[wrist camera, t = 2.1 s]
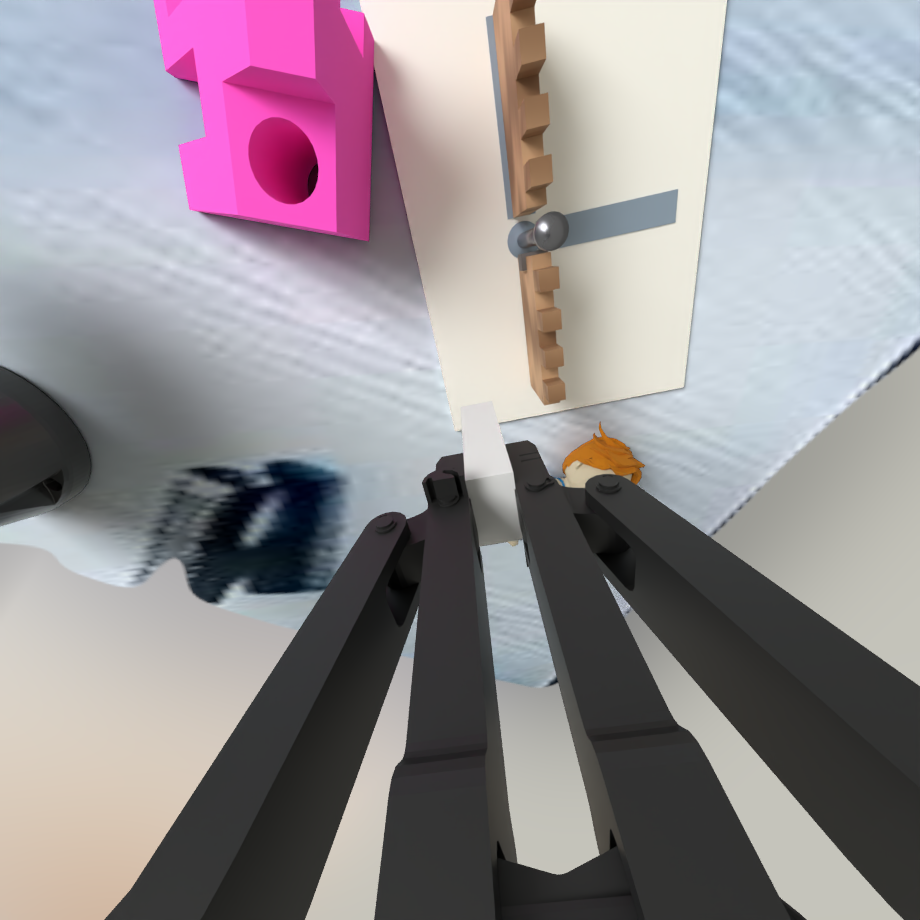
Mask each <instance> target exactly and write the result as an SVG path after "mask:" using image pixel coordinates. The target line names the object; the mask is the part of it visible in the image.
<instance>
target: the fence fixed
mask: <svg viewBox="0 0 920 920" xmlns="http://www.w3.org/2000/svg"><path fill="white" fill-rule="evenodd" d="M535 3H536V0H495V5H494V10H493V24H494V34H495V43H496V53H497V63H498V73H499V83H500V92H501V102H502V112H503V122H504V131H505V141H506V151H507V161H508V171H509V180H510V190H511V200H512V210H513V218H516V217H520V216H525V215H529V214H531V213H533V212H535V211H536V210H538V209H540V208H541V207H543V206H545V205H546V204H547V196H546V187H547V186H549V185H550V184H551V183H552V182H553V170H552V154H549V155H545V156H544V149H543V133H544V131H545V130H546V129H547V127H548V126H549V125H550V116H549V98H548V92H547V93H544V94H540V85H539V73H540V71H541V69H542V66H543V64H544V62H545V60H546V43H545V25H544V22H543V23H540V24H536V22H535Z"/></svg>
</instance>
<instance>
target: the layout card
mask: <svg viewBox="0 0 920 920" xmlns="http://www.w3.org/2000/svg"><path fill="white" fill-rule="evenodd" d="M359 1H360V5H361V10H362V13H364V14H365V17H366V20H367V22H368V25H369V27H370V30H371V33H372V35H373V38H374V68H375V73H376V77H377V82H378V86H379V91H380V95H381V100H382V104H383V109H384V113H385V118H386V122H387V127H388V131H389V136H390V140H391V145H392V149H393V154H394V158H395V163H396V167H397V172H398V176H399V181H400V185H401V190H402V195H403V199H404V204H405V208H406V213H407V217H408V222H409V226H410V231H411V235H412V240H413V244H414V249H415V253H416V258H417V262H418V267H419V271H420V276H421V280H422V285H423V289H424V294H425V298H426V303H427V307H428V312H429V316H430V321H431V325H432V330H433V334H434V339H435V343H436V348H437V352H438V357H439V361H440V366H441V370H442V375H443V379H444V384H445V388H446V393H447V397H448V402H449V406H450V411H451V416H452V420H453V425H454V429H455V431H460V430H462V425H461V409H460V407H462V406H467V405H472V404H477V403H483V402H488V401H492V403H493V406H494V410H495V413H496V416H497V420H498V423H501V422H506V421H512V420H517V419H522V418H527V417H532V416H538V415H543V414H548V413H553V412H558V411H563V410H569V409H574V408H579V407H584V406H589V405H595V404H600V403H605V402H610V401H615V400H621V399H626V398H631V397H636V396H641V395H646V394H652V393H657V392H662V391H667V390H672V389H678V388H683V387H684V381H685V372H686V363H687V354H688V345H689V336H690V327H691V318H692V309H693V300H694V292H695V283H696V274H697V265H698V256H699V247H700V238H701V229H702V220H703V211H704V202H705V193H706V184H707V175H708V166H709V157H710V148H711V139H712V131H713V122H714V113H715V104H716V95H717V86H718V77H719V68H720V59H721V50H722V41H723V32H724V23H725V14H726V5H727V0H536V3H535V22H536V24H540V23H543V22H544V25H545V43H546V60H545V62H544V64H543V66H542V69H541V71H540V73H539V85H540V94H544V93H547V92H548V98H549V116H550V125H549V126H548V127H547V129H546V130H545V131H544V133H543V149H544V156H545V155H549V154H552V170H553V182H552V183H551V184H550V185H549V186H547V187H546V196H547V204H546V205H545V206H543V207H541V208H540V209H538V210H536V211H535V212H533V213H531V214H529V215H525V216H520V217H516V218H513V210H512V200H511V190H510V180H509V171H508V161H507V151H506V141H505V131H504V122H503V112H502V102H501V92H500V83H499V73H498V63H497V53H496V43H495V34H494V24H493V10H494V5H495V0H359ZM551 211H557V212H560V213H562V214H563V215H564V216H565V217H566V219H567V221H568V224H569V233H568V237H567V239H566V241H565V243H564V244H563V245H562V246H561V247H560V248H558V249H556V250H553V251H548V252H551V262H552V266H559V281H560V288H559V289H555V290H553V294H554V307H556V308H559V309H561V318H562V329H560V330H556V343H557V344H558V345H560V346H561V347H562V348H563V355H564V366H562V367H558V375H559V378H560V379H561V380H562V381H563V382H564V383H565V392H566V400H561V401H560V403H555V404H550V405H545V406H544V404H543V403H542V401H541V400H540V398H539V397H538V396H537V394H536V393H535V391H534V390H533V388H532V387H531V383H530V373H529V364H528V354H527V344H526V334H525V324H524V315H523V305H522V295H521V285H520V275H519V266H518V255H519V254H523V253H528V252H532V251H537V250H541V249H539V248H538V247H537V246H532V247H528V248H520V247H519V246H518V243H517V238H518V236H519V235H520V234H521V233H523V232H525V231H528V230H530V229H532V228H534V226H535V224H536V222H537V221H538V219H539V218H540V217H541V216H543V215H544V214H546V213H548V212H551Z"/></svg>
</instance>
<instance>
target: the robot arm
mask: <svg viewBox="0 0 920 920" xmlns="http://www.w3.org/2000/svg"><path fill="white" fill-rule="evenodd" d="M460 409H461V425H462V440H463V453H461V454H456V455H450V456H445V457H441V459H440V460H439V461H438V463H437V464H436V471H434V472H432V473H430V474H428V475H427V476H426V477H425V478H424V480H423V482H422V485H423V488H424V492H425V495H426V498H427V502H428V509H427V510H426V511H424V512H423V513H421V514H419V515H417V516H415V517H412V518H410V519H407V520H406V517H405V515H403V514H401V513H398V512H389V513H385V514H382V515H379V516H377V517H376V518H374V519H373V520H371V521H370V522H369V524H368V525H367V526H366V527H365V529H364V530H363V532H362V534H361V535H360V537H359V538H358V540H357V541H356V543H355V544H354V546H353V547H352V549H351V551H350V552H349V554H348V555H347V557H346V558H345V560H344V561H343V563H342V564H341V566H340V568H339V569H338V571H337V572H336V574H335V575H334V577H333V578H332V580H331V581H330V583H329V584H328V586H327V588H326V589H325V591H324V592H323V594H322V595H321V597H320V598H319V600H318V601H317V603H316V605H315V606H314V608H313V609H312V611H311V612H310V614H309V615H308V617H307V618H306V620H305V622H304V623H303V625H302V626H301V628H300V629H299V631H298V632H297V634H296V635H295V637H294V638H293V640H292V642H291V643H290V645H289V646H288V648H287V650H286V651H285V652H284V654H283V656H282V657H281V659H280V660H279V662H278V663H277V665H276V666H275V668H274V669H273V671H272V673H271V674H270V676H269V677H268V679H267V680H266V682H265V683H264V685H263V686H262V688H261V689H260V691H259V692H258V694H257V696H256V697H255V699H254V700H253V702H252V703H251V705H250V706H249V708H248V710H247V711H246V713H245V714H244V716H243V717H242V719H241V720H240V722H239V723H238V725H237V727H236V728H235V730H234V731H233V733H232V734H231V736H230V737H229V739H228V740H227V742H226V743H225V745H224V747H223V748H222V750H221V751H220V753H219V754H218V756H217V758H216V759H215V760H214V762H213V763H212V765H211V767H210V768H209V770H208V771H207V773H206V774H205V776H204V777H203V779H202V781H201V782H200V784H199V785H198V787H197V788H196V790H195V791H194V793H193V794H192V796H191V798H190V799H189V801H188V802H187V804H186V805H185V807H184V808H183V810H182V811H181V813H180V814H179V816H178V817H177V819H176V821H175V822H174V824H173V825H172V827H171V828H170V830H169V831H168V833H167V834H166V836H165V838H164V839H163V841H162V842H161V844H160V845H159V847H158V848H157V850H156V851H155V853H154V855H153V856H152V858H151V859H150V861H149V862H148V864H147V866H146V867H145V868H144V870H143V872H142V873H141V875H140V876H139V878H138V879H137V881H136V882H135V884H134V885H133V887H132V888H131V890H130V891H129V892H128V893H127V895H126V896H125V897H124V898H123V899H122V900H121V902H120V903H119V904H118V905H117V906H116V907H115V908H114V909H113V910H112V912H111V913H110V914H109V915H108V916H107V917H106V919H105V920H305V918H306V915H307V912H308V910H309V908H310V905H311V902H312V899H313V897H314V893H315V891H316V888H317V885H318V883H319V880H320V877H321V874H322V872H323V869H324V866H325V863H326V861H327V858H328V855H329V852H330V850H331V847H332V844H333V841H334V838H335V836H336V833H337V830H338V827H339V824H340V822H341V819H342V816H343V813H344V811H345V808H346V805H347V802H348V799H349V797H350V794H351V791H352V788H353V786H354V783H355V780H356V778H357V775H358V772H359V769H360V766H361V764H362V761H363V758H364V755H365V753H366V750H367V747H368V744H369V742H370V739H371V736H372V733H373V730H374V728H375V725H376V722H377V719H378V717H379V714H380V711H381V708H382V706H383V703H384V700H385V697H386V695H387V692H388V689H389V686H390V683H391V680H392V678H393V675H394V672H395V670H396V666H397V664H398V661H399V658H400V656H401V653H402V650H403V647H404V645H405V642H406V639H407V636H408V634H409V631H410V628H411V625H412V623H413V620H414V617H415V614H416V611H417V609H418V606H419V609H418V620H417V631H416V642H415V653H414V664H413V675H412V685H411V696H410V707H409V719H408V730H407V740H406V748H405V754H404V757H403V759H402V760H401V762H400V763H398V765H397V766H396V767H395V770H394V773H393V776H392V779H391V785H390V791H389V797H388V806H387V815H386V823H385V832H384V841H383V849H382V858H381V866H380V875H379V884H378V892H377V901H376V909H375V919H374V920H806V919H805V918H804V917H803V916H802V915H801V914H800V913H798V912H797V911H796V910H795V909H793V908H792V907H791V906H790V905H788V904H787V903H786V902H785V901H783V900H782V899H781V898H780V897H779V896H778V894H777V892H776V890H775V888H774V886H773V884H772V882H771V880H770V878H769V876H768V875H767V872H766V871H765V869H764V867H763V865H762V863H761V861H760V859H759V857H758V855H757V853H756V851H755V849H754V847H753V845H752V843H751V841H750V840H749V838H748V836H747V834H746V832H745V830H744V828H743V826H742V824H741V822H740V820H739V818H738V816H737V814H736V812H735V811H734V809H733V807H732V805H731V803H730V801H729V799H728V797H727V795H726V793H725V791H724V789H723V788H722V785H721V783H720V781H719V780H718V778H717V776H716V774H715V772H714V770H713V768H712V766H711V764H710V762H709V760H708V759H707V757H706V755H705V753H704V752H703V750H702V748H701V747H700V745H699V743H698V742H697V740H696V739H695V738H694V737H693V735H692V734H691V733H690V732H689V731H688V730H686V729H684V728H683V727H681V726H679V725H678V724H677V722H676V721H675V720H674V719H673V716H672V715H671V713H670V711H669V709H668V707H667V705H666V703H665V701H664V699H663V697H662V695H661V693H660V691H659V689H658V686H657V685H656V682H655V680H654V678H653V676H652V674H651V672H650V670H649V668H648V666H647V664H646V662H645V660H644V658H643V656H642V654H641V652H640V650H639V647H638V645H637V643H636V641H635V639H634V637H633V635H632V633H631V631H630V629H629V627H628V625H627V623H626V621H625V619H624V617H623V615H622V613H621V611H620V608H619V606H618V604H617V602H616V600H615V598H614V596H613V594H612V592H611V590H610V588H609V586H608V584H607V582H606V580H605V578H604V576H605V577H606V578H607V579H608V580H609V581H610V583H611V584H612V585H613V586H614V587H615V588H616V590H617V591H618V592H619V593H620V594H621V595H622V597H623V598H624V599H625V600H626V601H627V602H628V604H629V605H630V606H631V607H632V608H633V609H634V611H635V612H636V613H637V614H638V615H639V616H640V618H641V619H642V620H643V621H644V622H645V623H646V624H647V626H648V627H649V628H650V629H651V630H652V632H653V633H654V634H655V635H656V636H657V637H658V638H659V640H660V641H661V642H662V643H663V644H664V645H665V647H666V648H667V649H668V650H669V651H670V653H672V655H673V656H674V657H675V658H676V660H677V661H678V662H679V663H680V664H681V665H682V667H683V668H684V669H685V670H686V671H687V672H688V674H689V675H690V676H691V677H692V678H693V679H694V681H695V682H696V683H697V684H698V685H699V686H700V688H701V689H702V690H703V691H704V692H705V693H706V695H707V696H708V697H709V698H710V699H711V700H712V702H713V703H714V704H715V705H716V706H717V707H718V708H719V710H720V711H721V712H722V713H723V714H724V716H725V717H726V718H727V719H728V720H729V721H730V722H731V724H732V725H733V726H734V727H735V728H736V730H737V731H738V732H739V733H740V734H741V735H742V737H743V738H744V739H745V740H746V741H747V742H748V743H749V745H750V746H751V747H752V748H753V749H754V751H755V752H756V753H757V754H758V755H759V756H760V758H761V759H762V760H763V761H764V762H765V763H766V764H767V766H768V767H769V768H770V769H771V770H772V772H773V773H774V774H775V775H776V776H777V777H778V779H779V780H780V781H781V782H782V783H783V784H784V786H786V788H787V789H788V790H789V791H790V793H791V794H792V795H793V796H794V797H795V798H796V800H797V801H798V802H799V803H800V804H801V805H802V807H803V808H804V809H805V810H806V811H807V812H808V813H809V815H810V816H811V817H812V818H813V819H814V821H815V822H816V823H817V824H818V825H819V827H820V828H821V829H822V830H823V831H824V832H825V833H826V835H827V836H828V837H829V838H830V839H831V841H832V842H833V843H834V844H835V845H836V846H837V847H838V849H839V850H840V851H841V852H842V853H843V855H844V856H845V857H846V858H847V859H848V860H849V861H850V862H851V863H852V865H853V866H854V867H855V868H856V869H857V870H858V871H859V872H860V873H861V874H862V876H863V877H864V878H865V879H866V880H867V881H868V882H869V883H870V884H871V885H872V887H873V888H874V889H875V890H876V891H877V892H878V893H879V894H880V895H881V896H882V898H883V899H884V900H885V901H886V902H887V903H888V904H889V905H890V906H891V907H892V908H893V909H894V910H895V911H896V912H897V913H898V914H899V915H900V916H901V917H902V918H903V919H904V920H920V686H918V685H917V684H916V683H914V682H913V681H911V680H910V679H909V678H907V677H906V676H905V675H903V674H902V673H900V672H898V671H897V670H896V669H895V668H893V667H892V666H890V665H889V664H887V663H886V662H885V661H883V660H882V659H881V658H879V657H878V656H876V655H875V654H873V653H872V652H871V651H869V650H868V649H867V648H865V647H864V646H862V645H861V644H859V643H858V642H857V641H855V640H854V639H852V638H851V637H849V636H848V635H847V634H845V633H844V632H843V631H841V630H840V629H838V628H837V627H835V626H834V625H833V624H831V623H830V622H829V621H827V620H826V619H824V618H823V617H821V616H820V615H819V614H817V613H816V612H814V611H813V610H812V609H810V608H809V607H807V606H806V605H805V604H803V603H802V602H800V601H799V600H797V599H796V598H795V597H793V596H792V595H790V594H789V593H788V592H786V591H785V590H783V589H782V588H780V587H779V586H778V585H776V584H775V583H774V582H772V581H771V580H769V579H768V578H767V577H765V576H764V575H762V574H761V573H759V572H758V571H757V570H755V569H754V568H752V567H751V566H750V565H748V564H747V563H745V562H744V561H743V560H741V559H740V558H738V557H737V556H736V555H734V554H733V553H731V552H730V551H728V550H727V549H726V548H724V547H723V546H721V545H720V544H719V543H717V542H716V541H714V540H713V539H712V538H710V537H709V536H707V535H706V534H705V533H703V532H702V531H700V530H699V529H698V528H696V527H695V526H693V525H692V524H691V523H689V522H688V521H686V520H685V519H683V518H682V517H681V516H679V515H678V514H676V513H675V512H674V511H672V510H671V509H669V508H668V507H667V506H665V505H664V504H662V503H661V502H660V501H658V500H657V499H655V498H654V497H653V496H651V495H650V494H648V493H647V492H645V491H644V490H643V489H641V488H640V487H638V486H637V485H636V484H634V483H633V482H631V481H630V480H629V479H627V478H625V477H623V476H619V475H615V474H601V475H596V476H594V477H592V478H590V479H588V481H587V482H586V483H585V488H573V487H565V486H561V485H559V483H558V481H557V480H556V479H555V478H554V477H552V476H550V475H549V473H548V471H547V469H546V467H545V465H544V463H543V461H542V458H541V456H540V454H539V453H538V450H537V448H536V446H535V445H534V444H533V443H531V442H529V441H528V440H527V441H521V442H516V443H510V444H505V443H504V440H503V436H502V433H501V430H500V426H499V423H498V420H497V416H496V413H495V410H494V406H493V403H492V401H488V402H483V403H477V404H472V405H467V406H462V407H460ZM90 471H91V463H90V456H89V452H88V449H87V447H86V444H85V442H84V440H83V438H82V436H81V434H80V432H79V431H78V429H77V428H76V426H75V425H74V424H73V422H72V421H71V420H70V418H69V417H68V416H67V415H66V414H65V413H64V412H63V411H62V409H61V408H60V407H59V406H58V405H57V404H55V403H54V402H53V401H52V400H51V399H50V398H49V397H48V396H46V395H45V394H44V393H43V392H41V391H40V390H39V389H37V388H36V387H35V386H33V385H32V384H30V383H29V382H27V381H25V380H24V379H22V378H21V377H19V376H17V375H15V374H14V373H12V372H10V371H8V370H6V369H4V368H1V367H0V526H3V525H7V524H10V523H13V522H17V521H20V520H24V519H27V518H30V517H34V516H37V515H40V514H44V513H46V512H48V511H51V510H53V509H55V508H57V507H58V506H60V505H62V504H63V503H65V502H66V501H68V500H70V499H71V498H73V497H74V496H76V495H77V494H79V493H80V492H81V491H82V490H83V489H84V487H85V486H86V484H87V482H88V480H89V477H90ZM522 536H523V537H522ZM522 539H523V542H524V549H525V556H526V562H527V567H529V569H530V573H531V577H532V581H533V585H534V589H535V593H536V596H537V600H538V604H539V608H540V612H541V616H542V620H543V624H544V628H545V632H546V636H547V640H548V644H549V648H550V652H551V656H552V659H553V663H554V667H555V671H556V675H557V679H558V683H559V687H560V691H561V695H562V699H563V703H564V706H565V711H566V714H567V719H568V722H569V726H570V730H571V734H572V738H573V742H574V746H575V750H576V754H577V758H578V762H579V766H580V770H581V773H582V777H583V781H584V785H585V789H586V793H587V797H588V802H589V806H590V811H591V815H592V821H593V826H594V831H595V836H596V841H597V845H598V849H599V854H600V855H599V856H598V857H596V858H594V859H592V860H590V861H588V862H586V863H584V864H583V865H581V866H579V867H577V868H575V869H573V870H571V871H569V872H568V873H565V874H562V875H556V874H551V873H548V872H545V871H541V870H537V869H534V868H531V867H527V866H524V865H520V864H517V857H516V849H515V842H514V836H513V831H512V824H511V818H510V812H509V803H508V795H507V785H506V777H505V767H504V757H503V748H502V739H501V730H500V721H499V711H498V702H497V693H496V684H495V674H494V665H493V656H492V647H491V637H490V628H489V619H488V610H487V601H486V591H485V582H484V573H483V564H482V556H481V551H480V547H479V545H480V546H485V545H492V544H498V543H504V542H510V541H516V540H522ZM602 573H603V574H604V576H603V574H602Z"/></svg>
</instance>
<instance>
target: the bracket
mask: <svg viewBox="0 0 920 920" xmlns="http://www.w3.org/2000/svg"><path fill="white" fill-rule="evenodd" d="M154 6H155V12H156V17H157V23H158V29H159V35H160V41H161V46H162V52H163V58H164V64H165V70H166V71H167V72H168V73H170V74H171V75H173V76H174V77H176V78H180V79H185V80H190V81H195V82H198V84H199V91H200V98H201V105H202V112H203V120H204V127H205V134H206V137H204V138H201V139H197V140H194V141H191V142H187V143H184V144H181V145H179V151H180V157H181V163H182V168H183V174H184V180H185V186H186V192H187V198H188V203H189V209H190V210H194V211H198V212H204V213H210V214H216V215H221V216H227V217H233V218H238V219H244V220H250V221H256V222H261V223H267V224H273V225H279V226H284V227H290V228H296V229H301V230H307V231H313V232H319V233H324V234H330V235H336V236H341V237H347V238H353V239H359V240H364V241H369V226H370V188H371V150H372V112H373V74H374V38H373V35H372V33H371V30H370V27H369V25H368V22H367V20H366V17H365V14H364V13H361V12H357V11H352V10H348V9H343V8H340V0H154ZM317 163H318V168H319V171H318V181H317V184H316V187H315V190H314V191H313V193H312V194H311V196H310V197H309V195H308V188H307V185H308V177H309V174H310V171H311V170H312V168H313V167H314V166H315V165H316V164H317Z"/></svg>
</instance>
